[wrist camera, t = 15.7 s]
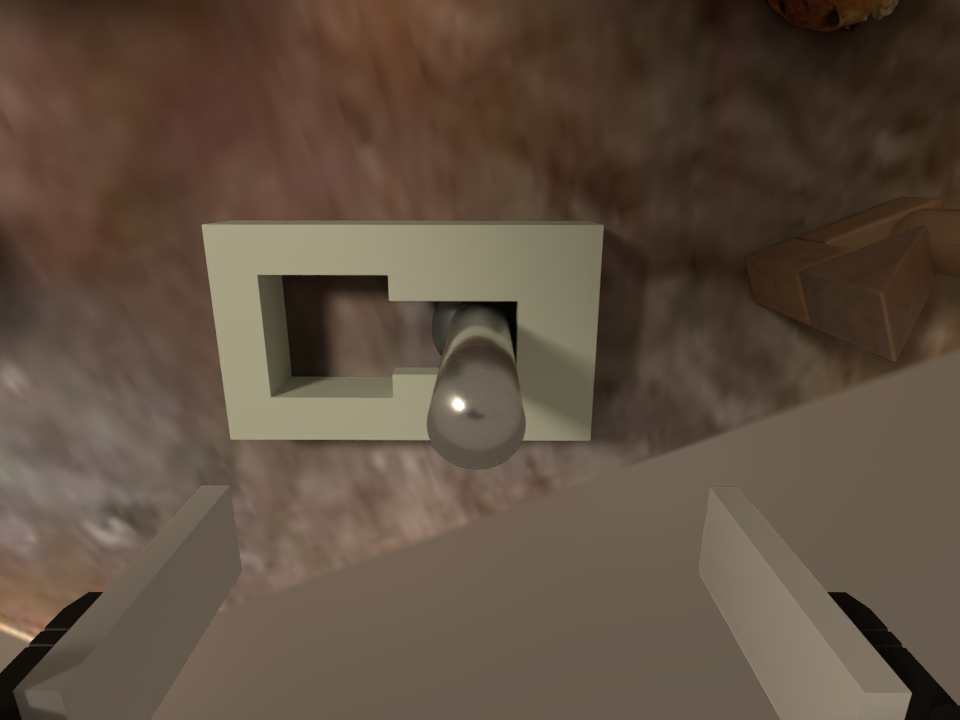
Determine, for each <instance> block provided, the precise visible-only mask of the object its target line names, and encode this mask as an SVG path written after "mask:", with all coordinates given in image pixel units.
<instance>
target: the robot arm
mask: <svg viewBox="0 0 960 720" xmlns="http://www.w3.org/2000/svg"><path fill="white" fill-rule="evenodd" d="M241 572H242V567H241V560H240V553H239V546H238V539H237V532H236V525H235V518H234V511H233V504H232V497H231V490H230V486H228V485H202V486H201V487H200V488H199V489H198V490H197V491H196V492H195V493H194V495H193V496H192V497H191V498H190V499H189V500H188V501H187V502H186V503H185V504H184V505H183V506H182V508H181V509H180V510H179V511H178V512H177V513H176V514H175V515H174V516H173V517H172V518H171V520H170V521H169V522H168V523H167V524H166V525H165V526H164V527H163V528H162V529H161V530H160V531H159V533H158V534H157V535H156V536H155V537H154V538H153V539H152V540H151V541H150V542H149V543H148V544H147V546H146V547H145V548H144V549H143V550H142V551H141V552H140V553H139V554H138V555H137V556H136V558H135V559H134V560H133V561H132V562H131V563H130V564H129V565H128V566H127V567H126V568H125V569H124V571H123V572H122V573H121V574H120V575H119V576H118V577H117V578H116V579H115V580H114V581H113V582H112V584H111V585H110V586H109V587H108V588H107V589H106V590H105V591H104V592H88V593H87V594H85V595H84V596H82V597H81V598H79V599H78V600H76V601H75V602H73V603H72V604H70V605H68V606H67V607H65V608H64V609H63V610H62V611H61V612H60V613H59V614H58V615H57V616H56V617H55V618H54V619H53V620H52V621H51V622H50V623H49V624H48V625H47V626H46V627H45V630H44V631H41V632H40V633H39V634H38V635H37V636H36V637H35V638H34V639H33V640H32V641H31V642H30V645H29V647H27V648H25V649H24V650H23V651H22V652H21V653H20V654H19V655H18V656H17V657H16V658H15V659H14V660H13V661H12V662H11V663H10V664H9V665H8V666H7V667H6V668H5V669H4V670H3V671H2V672H1V673H0V720H151V718H152V716H153V715H154V713H155V711H156V710H157V708H158V707H159V705H160V703H161V702H162V700H163V699H164V697H165V695H166V693H167V692H168V690H169V689H170V687H171V685H172V684H173V682H174V681H175V679H176V677H177V676H178V674H179V672H180V671H181V669H182V668H183V666H184V664H185V663H186V661H187V660H188V658H189V656H190V655H191V653H192V651H193V650H194V648H195V646H196V645H197V643H198V642H199V640H200V638H201V636H202V635H203V634H204V632H205V630H206V628H207V627H208V625H209V624H210V622H211V620H212V619H213V617H214V616H215V614H216V612H217V611H218V609H219V608H220V606H221V604H222V603H223V601H224V599H225V598H226V596H227V595H228V593H229V591H230V590H231V588H232V586H233V585H234V583H235V581H236V580H237V578H238V577H239V575H240V573H241ZM698 572H699V574H700V576H701V578H702V579H703V581H704V583H705V585H706V586H707V588H708V590H709V592H710V594H711V596H712V597H713V599H714V601H715V603H716V604H717V606H718V608H719V610H720V612H721V613H722V615H723V617H724V619H725V621H726V622H727V624H728V626H729V628H730V629H731V631H732V633H733V635H734V637H735V639H736V640H737V642H738V644H739V646H740V648H741V649H742V651H743V653H744V655H745V656H746V658H747V660H748V662H749V664H750V665H751V667H752V669H753V671H754V673H755V674H756V676H757V678H758V680H759V682H760V683H761V685H762V687H763V689H764V690H765V692H766V694H767V696H768V698H769V700H770V701H771V703H772V705H773V707H774V708H775V710H776V712H777V714H778V716H779V717H780V719H781V720H960V706H958V705H957V704H956V703H955V702H954V700H953V699H952V698H951V697H950V696H949V695H948V694H947V693H946V692H945V691H944V689H943V688H942V687H941V686H940V685H939V684H938V683H937V682H936V681H935V680H934V679H933V677H932V676H931V675H930V674H929V673H928V672H927V671H926V670H925V669H924V668H923V666H922V665H921V664H920V663H919V662H918V661H917V660H916V659H915V658H914V657H913V656H912V654H911V653H910V652H909V651H908V650H907V649H906V648H903V647H902V644H901V642H900V641H899V640H898V639H897V638H896V637H895V636H894V635H893V634H892V633H891V632H888V630H887V627H886V626H885V625H884V624H883V623H882V621H881V620H880V619H879V618H878V617H877V616H876V615H875V614H874V613H873V612H872V611H871V609H869V608H868V607H866V606H865V605H864V604H862V603H861V602H859V601H858V600H856V599H855V598H853V597H852V596H850V595H849V594H847V593H846V592H826V590H825V589H824V588H823V587H822V586H821V585H820V584H819V582H818V581H817V580H816V579H815V577H814V576H813V575H812V574H811V573H810V572H809V570H808V569H807V568H806V567H805V566H804V564H803V563H802V562H801V561H800V560H799V558H798V557H797V556H796V555H795V554H794V553H793V552H792V550H791V549H790V548H789V547H788V545H787V544H786V543H785V542H784V541H783V540H782V538H781V537H780V536H779V535H778V534H777V532H776V531H775V530H774V529H773V528H772V526H771V525H770V524H769V523H768V522H767V521H766V519H765V518H764V517H763V516H762V515H761V513H760V512H759V511H758V510H757V509H756V508H755V506H754V505H753V504H752V503H751V502H750V500H749V499H748V498H747V497H746V496H745V494H744V493H743V492H742V491H741V490H740V489H739V488H738V487H710V490H709V497H708V503H707V511H706V519H705V526H704V533H703V541H702V548H701V556H700V563H699V571H698Z"/></svg>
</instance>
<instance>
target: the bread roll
mask: <svg viewBox="0 0 960 720" xmlns="http://www.w3.org/2000/svg"><path fill="white" fill-rule="evenodd" d="M767 1H768V3H769V5H770V6H771V7H772V8H773V9H774V11H776V12H777V13H778V14H780V15H781V16H782V17H783V18H784V19H786V20H787V21H788V22H789V23H790V24H792V25H794V26H797V27H800V28H807V29H812V30H815V31H833V30H837V31H840V30H841V31H843V32H846V33H853V32H854V31H855V29H856V28H857V27H858V25H859V23H860V22H862V21H866V20H867V18H868V15H869V14H870V15H871V16H873V17H874V18H875V19H879V20H881V19H882V18H883V17H885V16H887V15H890V14H891V13H892V11H893V9H894V8H895V7H896V5H897V4H898V1H899V0H767Z"/></svg>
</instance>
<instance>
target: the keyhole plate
mask: <svg viewBox="0 0 960 720" xmlns="http://www.w3.org/2000/svg"><path fill="white" fill-rule="evenodd" d="M603 230H604V225H602V224H598V223H595V222H592V221H277V220H231V221H224V222H216V223H209V224H202V231H203V239H204V246H205V253H206V261H207V268H208V276H209V283H210V290H211V298H212V305H213V312H214V320H215V327H216V335H217V342H218V349H219V357H220V364H221V371H222V379H223V386H224V394H225V401H226V408H227V416H228V423H229V431H230V438H231V439H248V440H430V439H429V436H428V432H427V416H428V411H429V407H430V403H431V399H432V395H433V390H434V386H435V382H436V378H437V374H438V370H439V368H395V370H394V372H393V374H392V377H292V372H291V362H290V352H289V342H288V332H287V321H286V311H285V301H284V291H283V281H282V275H388V290H389V301H517V312H516V362H515V363H516V368H517V374H518V380H519V385H520V391H521V396H522V402H523V407H524V413H525V418H526V429H525V434H524V438H523V440H522V441H590V439H591V423H592V407H593V391H594V375H595V359H596V342H597V326H598V310H599V294H600V278H601V262H602V246H603Z"/></svg>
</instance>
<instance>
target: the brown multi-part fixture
mask: <svg viewBox="0 0 960 720" xmlns="http://www.w3.org/2000/svg"><path fill="white" fill-rule="evenodd" d="M745 264H746V268H747V272H748V276H749V279H750V283H751V287H752V291H753V295H754V298H755V301H756V302H757V304H759V305H762V306H764V307H766V308H769V309H771V310H773V311H776V312H778V313H780V314H783V315H785V316H788V317H790V318H792V319H795V320H797V321H799V322H802V323H804V324H806V325H812V327H813V328H814V329H817V330H819V331H821V332H824V333H826V334H828V335H831V336H833V337H835V338H838V339H840V340H842V341H845V342H847V343H849V344H852V345H854V346H856V347H859V348H861V349H863V350H866V351H868V352H870V353H873V354H875V355H877V356H880V357H882V358H884V359H887V360H889V361H891V362H896V361H897V360H898V358H899V356H900V354H901V352H902V350H903V348H904V346H905V344H906V342H907V340H908V338H909V336H910V334H911V332H912V330H913V328H914V326H915V324H916V322H917V320H918V318H919V316H920V314H921V312H922V310H923V308H924V306H925V304H926V302H927V300H928V298H929V296H930V294H931V292H932V290H933V288H934V286H935V284H936V277H935V273H938V274H943V275H948V276H953V277H959V278H960V210H956V209H944V207H943V201H942V200H941V199H940V198H914V197H900V198H898V199H895V200H892V201H890V202H887V203H884V204H882V205H879V206H877V207H874V208H871V209H869V210H866V211H863V212H861V213H858V214H855V215H853V216H850V217H848V218H845V219H842V220H840V221H837V222H834V223H832V224H829V225H826V226H824V227H821V228H819V229H816V230H813V231H811V232H808V233H805V234H803V235H801V236H799V237H798V238H797V239H789V240H787V241H784V242H781V243H779V244H776V245H773V246H771V247H768V248H765V249H763V250H760V251H758V252H755V253H752V254H750V255H748V256H747V257H745Z"/></svg>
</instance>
